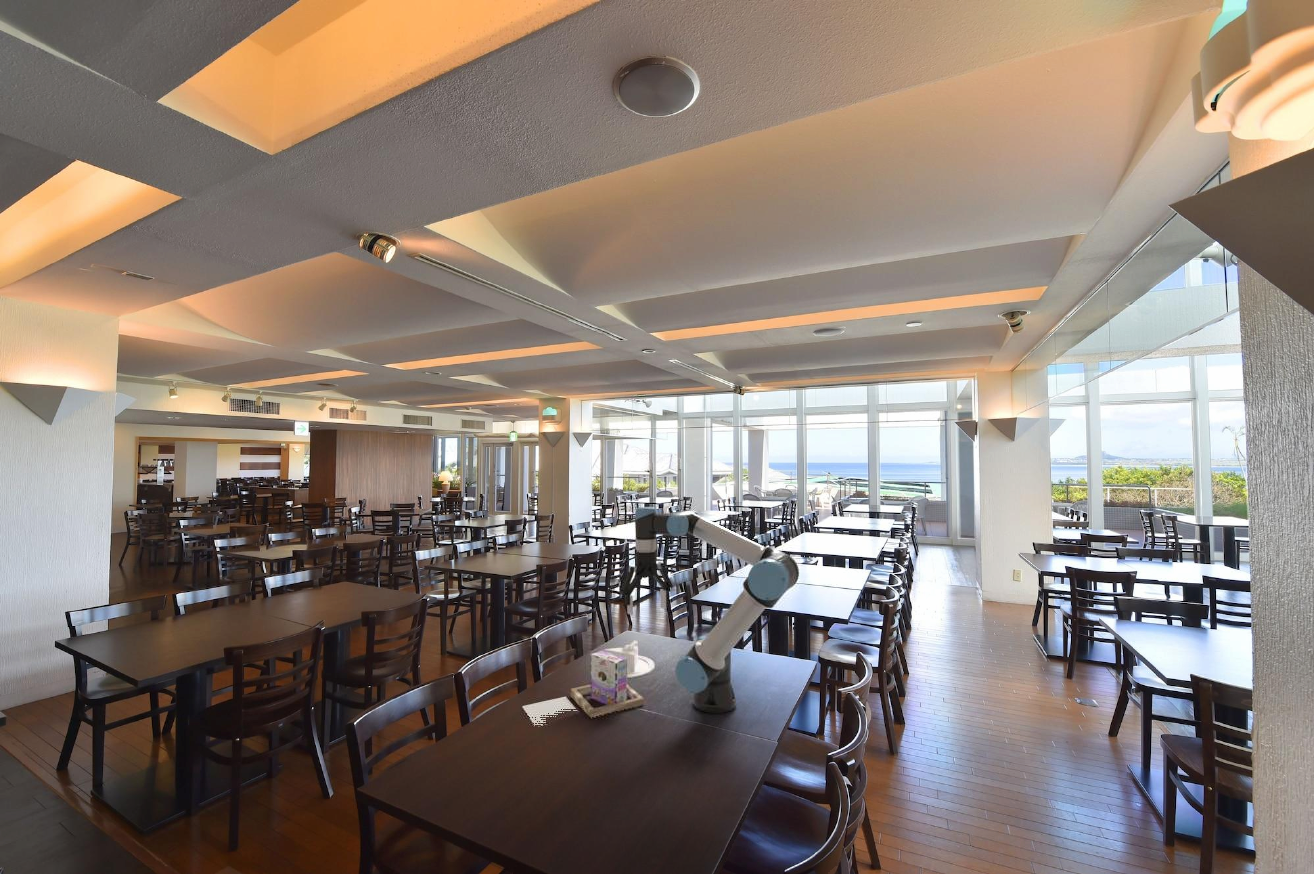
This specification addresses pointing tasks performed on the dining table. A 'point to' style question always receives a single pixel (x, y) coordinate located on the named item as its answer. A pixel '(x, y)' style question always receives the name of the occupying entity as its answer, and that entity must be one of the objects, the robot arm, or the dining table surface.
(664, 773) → the dining table surface
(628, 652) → the dish
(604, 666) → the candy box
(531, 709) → the place mat
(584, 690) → the pocket frame
